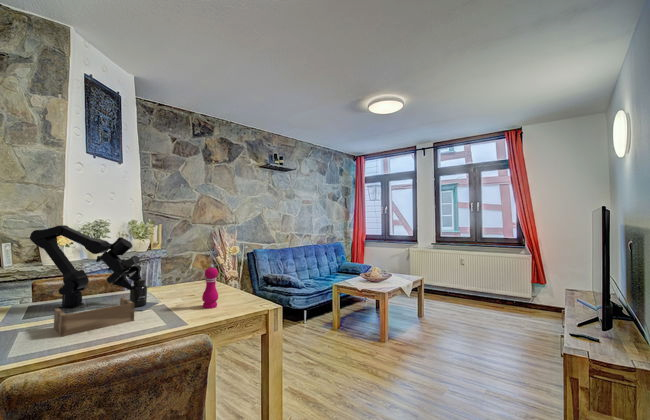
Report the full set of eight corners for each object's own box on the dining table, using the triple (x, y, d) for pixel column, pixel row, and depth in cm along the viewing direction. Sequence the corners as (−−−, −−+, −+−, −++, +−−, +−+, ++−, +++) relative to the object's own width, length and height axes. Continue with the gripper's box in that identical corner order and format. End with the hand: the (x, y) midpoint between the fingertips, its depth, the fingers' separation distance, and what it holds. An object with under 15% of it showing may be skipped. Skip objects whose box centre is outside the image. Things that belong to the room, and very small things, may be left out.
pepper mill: (220, 305, 147) (222, 263, 147) (213, 309, 140) (215, 265, 140) (206, 304, 147) (208, 262, 148) (198, 308, 140) (200, 265, 141)
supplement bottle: (142, 307, 137) (143, 281, 137) (126, 307, 136) (127, 281, 137) (149, 303, 144) (150, 278, 144) (134, 303, 143) (135, 278, 144)
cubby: (53, 327, 112) (54, 308, 112) (122, 313, 130) (123, 297, 130) (61, 336, 104) (62, 316, 105) (134, 320, 122) (134, 303, 122)
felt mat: (116, 310, 134) (116, 309, 134) (133, 302, 146) (134, 301, 146) (142, 311, 134) (142, 310, 134) (158, 303, 146) (158, 302, 146)
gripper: (115, 252, 131) (140, 279, 132) (138, 248, 150) (160, 271, 150) (95, 270, 130) (120, 296, 131) (121, 263, 149) (143, 287, 150)
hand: (137, 287), depth 140 cm, fingers open, 9 cm apart
